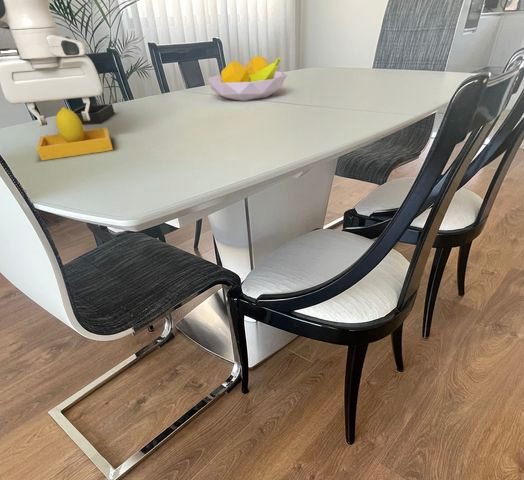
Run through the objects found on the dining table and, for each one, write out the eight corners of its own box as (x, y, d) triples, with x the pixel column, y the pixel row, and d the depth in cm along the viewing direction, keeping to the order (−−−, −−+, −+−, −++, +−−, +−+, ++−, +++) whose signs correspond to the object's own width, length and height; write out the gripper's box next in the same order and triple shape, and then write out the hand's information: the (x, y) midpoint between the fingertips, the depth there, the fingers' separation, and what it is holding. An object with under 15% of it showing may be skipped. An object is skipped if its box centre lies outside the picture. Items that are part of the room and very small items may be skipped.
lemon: (65, 151, 89) (50, 110, 83) (64, 145, 92) (50, 107, 87) (90, 147, 90) (77, 107, 85) (87, 142, 94) (75, 103, 89)
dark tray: (101, 123, 113) (98, 112, 111) (69, 125, 113) (65, 115, 112) (114, 113, 123) (112, 104, 121) (85, 115, 123) (82, 105, 122)
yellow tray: (41, 160, 86) (36, 147, 84) (45, 148, 94) (40, 136, 92) (113, 150, 89) (109, 137, 87) (110, 139, 97) (107, 127, 96)
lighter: (90, 124, 120) (84, 107, 119) (96, 123, 121) (90, 106, 120) (87, 112, 113) (80, 93, 112) (94, 111, 113) (88, 92, 112)
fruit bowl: (199, 97, 137) (194, 57, 130) (267, 87, 145) (266, 49, 137) (227, 109, 118) (222, 63, 110) (304, 97, 126) (305, 54, 118)
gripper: (-18, 51, 75) (15, 131, 84) (90, 44, 79) (111, 120, 89) (-12, 49, 80) (18, 125, 89) (90, 42, 84) (110, 115, 93)
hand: (65, 122), depth 89 cm, fingers open, 8 cm apart
